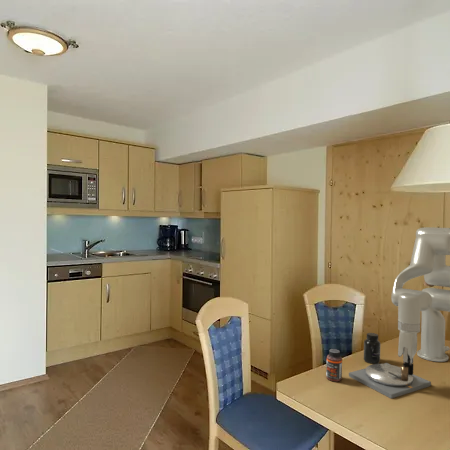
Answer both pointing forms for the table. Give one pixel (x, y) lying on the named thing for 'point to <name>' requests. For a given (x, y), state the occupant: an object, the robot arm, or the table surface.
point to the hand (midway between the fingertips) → (408, 373)
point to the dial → (389, 374)
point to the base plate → (389, 390)
